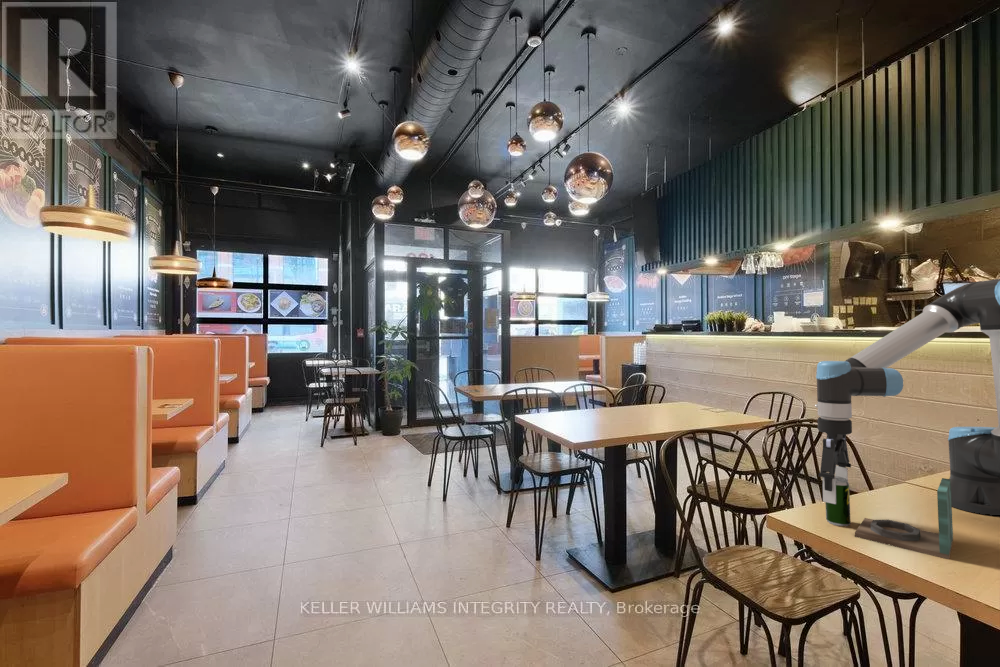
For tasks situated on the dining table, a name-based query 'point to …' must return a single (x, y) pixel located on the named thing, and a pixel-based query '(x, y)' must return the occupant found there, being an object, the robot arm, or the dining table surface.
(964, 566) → the dining table surface
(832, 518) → the green drink can
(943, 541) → the seat plate
